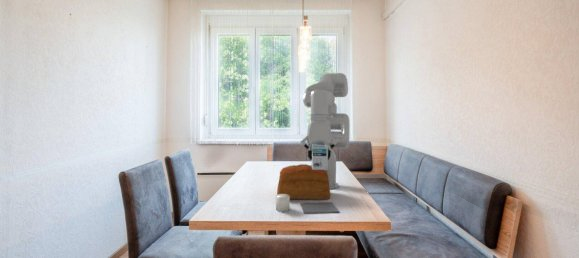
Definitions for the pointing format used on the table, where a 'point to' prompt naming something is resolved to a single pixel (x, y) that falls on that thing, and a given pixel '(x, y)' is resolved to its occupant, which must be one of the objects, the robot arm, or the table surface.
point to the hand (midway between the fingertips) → (319, 158)
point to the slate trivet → (319, 207)
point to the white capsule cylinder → (282, 202)
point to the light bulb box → (319, 157)
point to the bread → (304, 182)
